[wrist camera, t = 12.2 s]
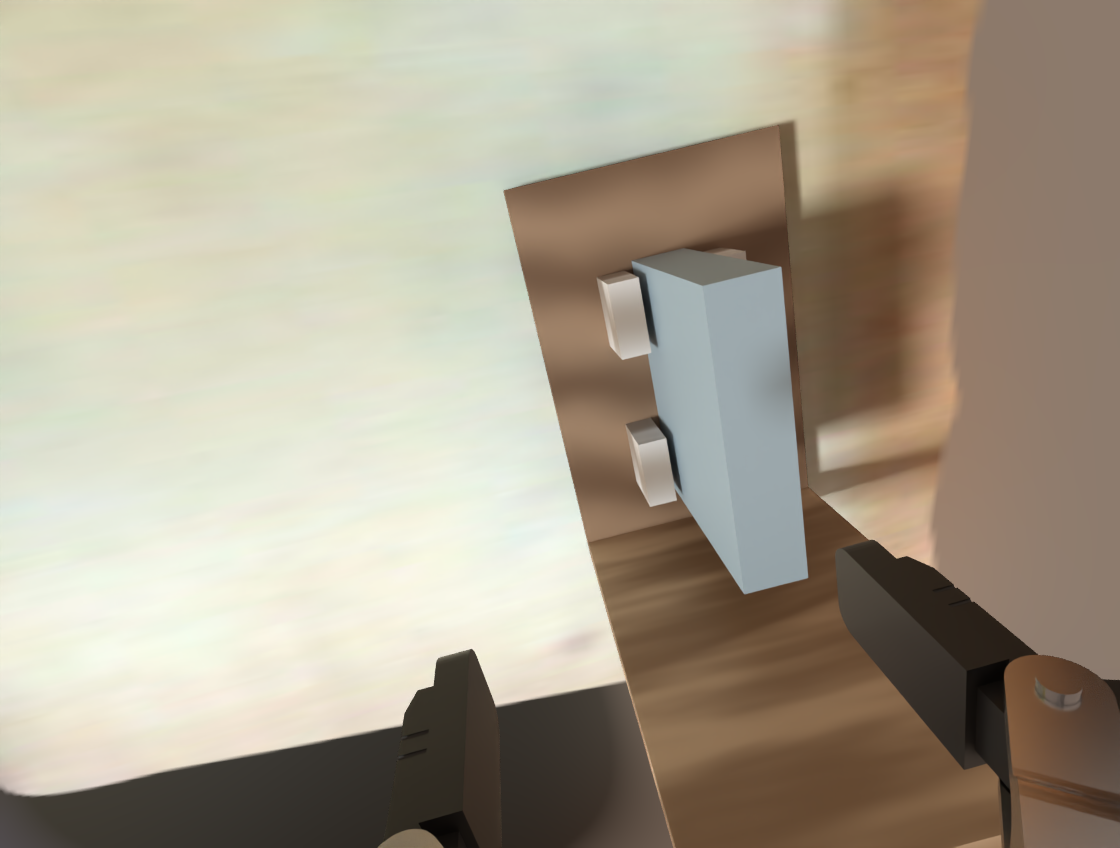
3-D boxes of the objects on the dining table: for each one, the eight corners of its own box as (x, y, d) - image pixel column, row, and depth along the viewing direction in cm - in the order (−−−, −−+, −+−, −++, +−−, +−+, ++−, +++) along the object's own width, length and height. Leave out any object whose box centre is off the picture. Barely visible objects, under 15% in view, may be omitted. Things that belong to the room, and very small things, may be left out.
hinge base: (503, 191, 32) (524, 147, 10) (766, 128, 33) (1323, -41, 11) (590, 555, 41) (704, 955, 19) (799, 502, 41) (1149, 835, 19)
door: (631, 260, 33) (702, 286, 22) (697, 244, 33) (801, 261, 22) (669, 481, 38) (744, 594, 27) (727, 466, 38) (825, 573, 27)
